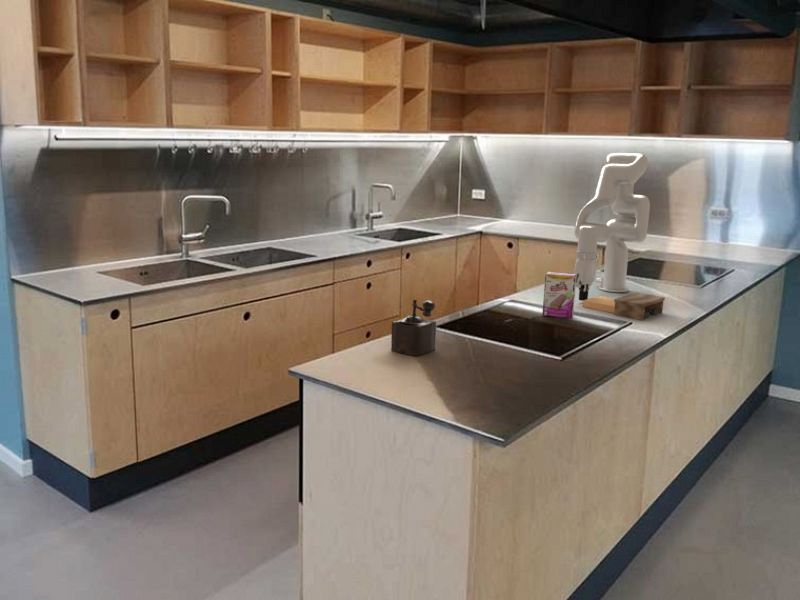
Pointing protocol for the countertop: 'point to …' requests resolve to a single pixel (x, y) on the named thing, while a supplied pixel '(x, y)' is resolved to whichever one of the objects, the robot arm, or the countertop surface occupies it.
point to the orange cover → (600, 304)
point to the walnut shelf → (638, 305)
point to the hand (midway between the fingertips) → (583, 300)
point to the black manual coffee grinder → (414, 332)
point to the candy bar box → (559, 295)
